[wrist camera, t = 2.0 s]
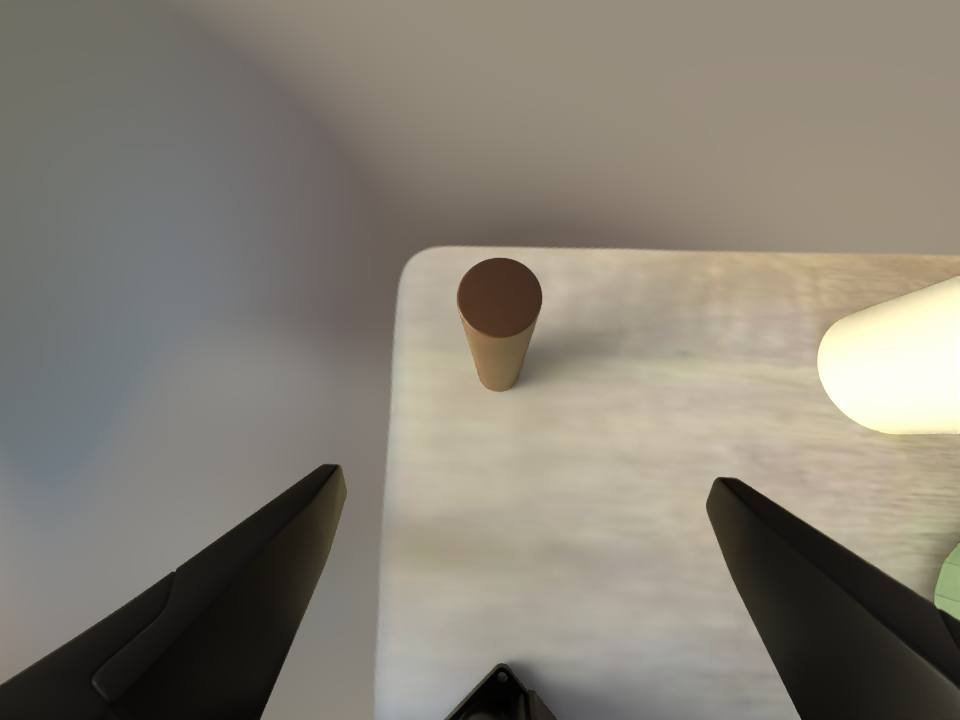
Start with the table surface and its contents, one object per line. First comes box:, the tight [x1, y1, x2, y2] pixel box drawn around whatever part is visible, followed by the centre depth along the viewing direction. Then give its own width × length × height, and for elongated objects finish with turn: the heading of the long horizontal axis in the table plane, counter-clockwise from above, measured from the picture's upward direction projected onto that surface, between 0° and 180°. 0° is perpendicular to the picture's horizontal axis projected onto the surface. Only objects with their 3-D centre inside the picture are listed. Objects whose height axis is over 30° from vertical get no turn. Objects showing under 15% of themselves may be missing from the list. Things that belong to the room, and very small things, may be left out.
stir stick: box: [457, 258, 542, 392], centre depth 19 cm, size 3×3×14 cm
